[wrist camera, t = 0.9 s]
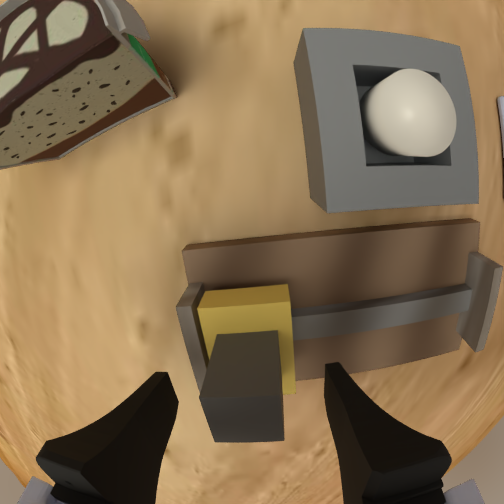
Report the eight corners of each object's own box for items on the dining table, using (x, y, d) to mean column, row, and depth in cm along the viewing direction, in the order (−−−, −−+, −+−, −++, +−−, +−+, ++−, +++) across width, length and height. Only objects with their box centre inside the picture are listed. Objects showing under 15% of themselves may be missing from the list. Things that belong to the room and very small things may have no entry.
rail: (470, 218, 16) (507, 234, 12) (452, 341, 19) (476, 371, 15) (187, 245, 18) (164, 269, 14) (215, 374, 21) (205, 415, 17)
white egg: (418, 86, 11) (448, 74, 8) (426, 156, 12) (460, 157, 9) (352, 82, 11) (373, 65, 9) (362, 156, 13) (386, 156, 10)
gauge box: (417, 67, 13) (459, 46, 9) (431, 190, 16) (478, 203, 11) (293, 63, 14) (303, 28, 9) (310, 197, 17) (327, 213, 12)
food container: (175, 11, 13) (106, -80, 4) (201, 88, 15) (125, 15, 5) (31, 97, 15) (-72, 89, 5) (45, 168, 17) (-67, 190, 7)
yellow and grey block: (286, 278, 16) (298, 362, 9) (292, 363, 18) (301, 456, 11) (207, 285, 17) (170, 367, 10) (225, 368, 18) (207, 458, 11)
